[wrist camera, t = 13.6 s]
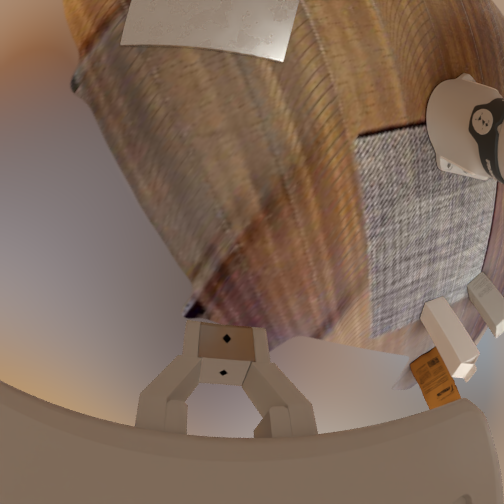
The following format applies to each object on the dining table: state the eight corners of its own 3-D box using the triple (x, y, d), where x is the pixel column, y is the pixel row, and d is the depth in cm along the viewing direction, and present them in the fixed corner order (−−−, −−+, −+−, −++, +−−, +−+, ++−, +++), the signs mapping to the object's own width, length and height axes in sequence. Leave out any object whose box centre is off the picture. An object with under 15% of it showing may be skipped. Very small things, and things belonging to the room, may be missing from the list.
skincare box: (483, 286, 56) (512, 324, 43) (467, 300, 58) (495, 340, 45) (482, 270, 52) (515, 310, 39) (465, 285, 54) (496, 327, 41)
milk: (442, 295, 55) (486, 363, 37) (436, 311, 58) (475, 377, 40) (424, 302, 55) (467, 374, 37) (419, 318, 59) (456, 388, 40)
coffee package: (441, 352, 73) (466, 403, 55) (412, 371, 77) (433, 423, 58) (439, 342, 68) (467, 397, 50) (407, 363, 72) (431, 420, 54)
